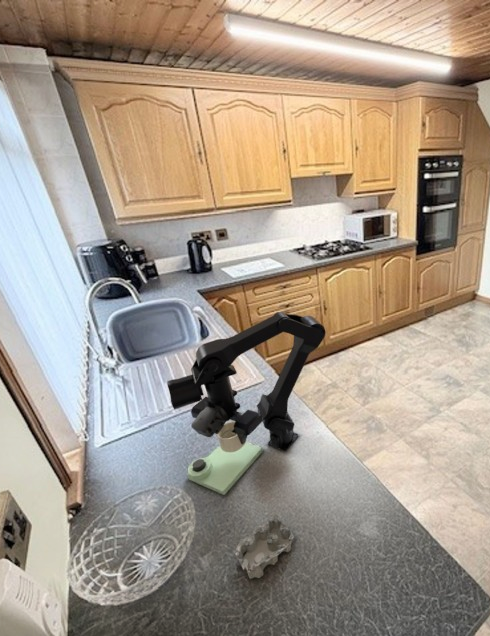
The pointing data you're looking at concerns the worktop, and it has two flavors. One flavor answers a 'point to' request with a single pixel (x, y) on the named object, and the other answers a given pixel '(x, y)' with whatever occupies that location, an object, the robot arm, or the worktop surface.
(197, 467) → the button
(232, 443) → the cup
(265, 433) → the worktop surface
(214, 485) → the scale
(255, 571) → the egg carton
